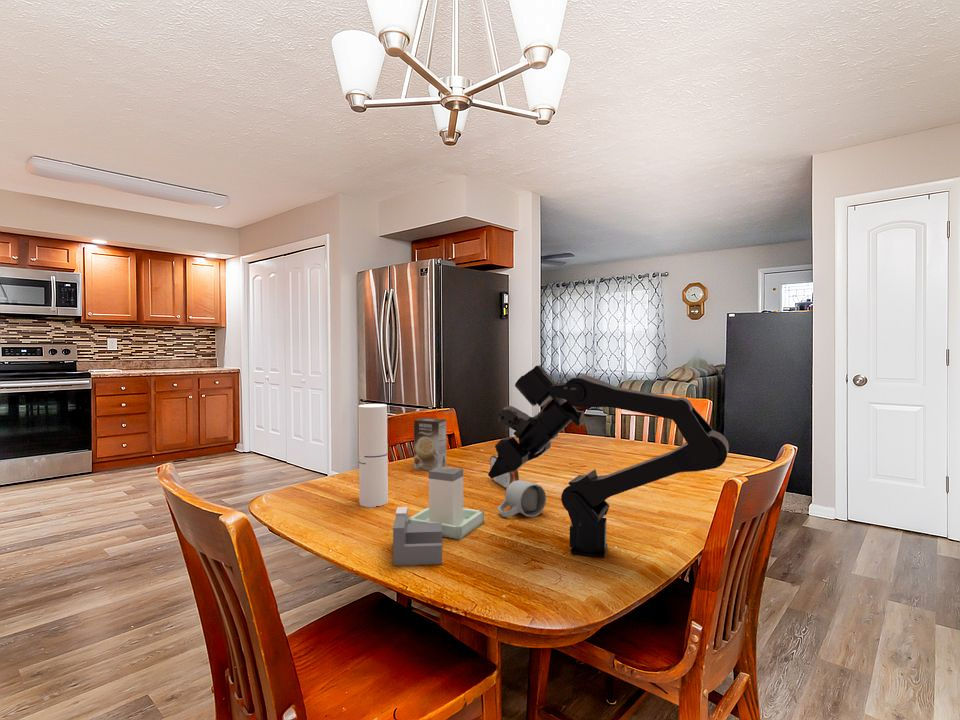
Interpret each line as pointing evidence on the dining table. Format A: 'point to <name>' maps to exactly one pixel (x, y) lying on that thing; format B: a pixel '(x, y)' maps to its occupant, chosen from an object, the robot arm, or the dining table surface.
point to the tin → (504, 475)
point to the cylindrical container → (373, 455)
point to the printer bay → (416, 541)
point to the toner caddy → (446, 495)
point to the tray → (452, 531)
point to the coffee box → (429, 443)
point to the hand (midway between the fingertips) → (498, 471)
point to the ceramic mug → (523, 499)
